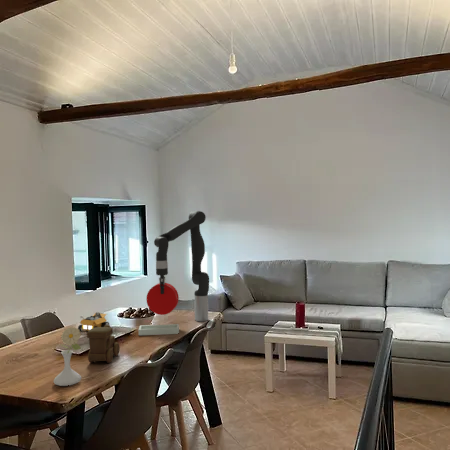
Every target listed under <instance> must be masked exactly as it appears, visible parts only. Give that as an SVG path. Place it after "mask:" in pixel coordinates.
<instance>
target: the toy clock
mask: <svg viewBox="0 0 450 450" xmlns="http://www.w3.org/2000/svg"><path fill="white" fill-rule="evenodd" d="M161 286H163V285H161ZM178 293H179V292H178V290H177V289H176V288H175V286H173V285H172V284H171V283H167V282H165V284H164V294H161V289H160V284H159V283H156V284H155V285H154V286H152V287H151V288H150V289H149V290H148V291H147V294H146V305H147V306H148V308H149V310H150V311H151V312H152V313H154V314H155V315H158V316H160V315H162V316H164V315H168V314H170V313H171V312H172V311H174V310H175V309H176V307H177V306H178V303H179V298H180V297H179V296H180V295H179V294H178Z"/></svg>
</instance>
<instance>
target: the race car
mask: <svg viewBox="0 0 450 450" xmlns="http://www.w3.org/2000/svg"><path fill="white" fill-rule="evenodd" d="M106 316H107V313H100V312H98V311H97V312H95V313H94V314H93V315H90V316H87V317H86V318H84V315H80V316H79V318H80V319H81V321H80V322H79V325H78V327H77V328H78V329H79V330H80V331H79V332H84V331H87V332H88V331H89V330H90V329H92V328H96V327H104V326H105V325H110V322H109V321H108V320H107V319H106V318H105V317H106Z"/></svg>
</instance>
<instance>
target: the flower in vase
mask: <svg viewBox="0 0 450 450" xmlns="http://www.w3.org/2000/svg"><path fill="white" fill-rule="evenodd" d="M81 336H82V334H81V331H80V330H79V329H78V327H74V326H70V327H67V328H66V329H64V331H63V332H62V334H61V337H60V338H61V341H62V343H63V344H65V345H67V346H65V345H63V344H62V343H60V345H61V346H62V347H63V348H66V349H67V350H66V349H65V350H62V351H61V352H60V353H61V355H62V356H63V357H62V358H63V361H64V368H63V369H62V371H61V372H59V374H57V375H56V376H55V378H54V379H53V383H54V385H56V386H60V387H68V385H69V386H73V385H75V384H77V383H80V381H81V380H82V376H81V374H79V373H78V372H77V371H76V370H74V369H72V368H71V357H72V355H73V352H74V350H75V351H77V350H81V349H82V348H81V345H79V344H78V342H79V339H80V338H81ZM68 346H70V347H68ZM71 348H72V349H73V350H71Z"/></svg>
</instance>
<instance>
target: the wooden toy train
mask: <svg viewBox="0 0 450 450" xmlns="http://www.w3.org/2000/svg"><path fill="white" fill-rule="evenodd" d="M113 329H114V328H113V327H111V326H110V324H109V325H105V326H104V327H96V328H92V329H90V330H89V331H88V330H87V332H86V338H87V339H88V341H89V351H88V353H87V359H88V362H89V363H90V364H92V363H94V362H106V363H107V364H110V363H112V362H113V360H114V359H113V358H114V357H118V355H119V353H120V348H121V347H120V343H119V342H117V341H116V338H115V335H113V333H114V332H113V331H114V330H113Z"/></svg>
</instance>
